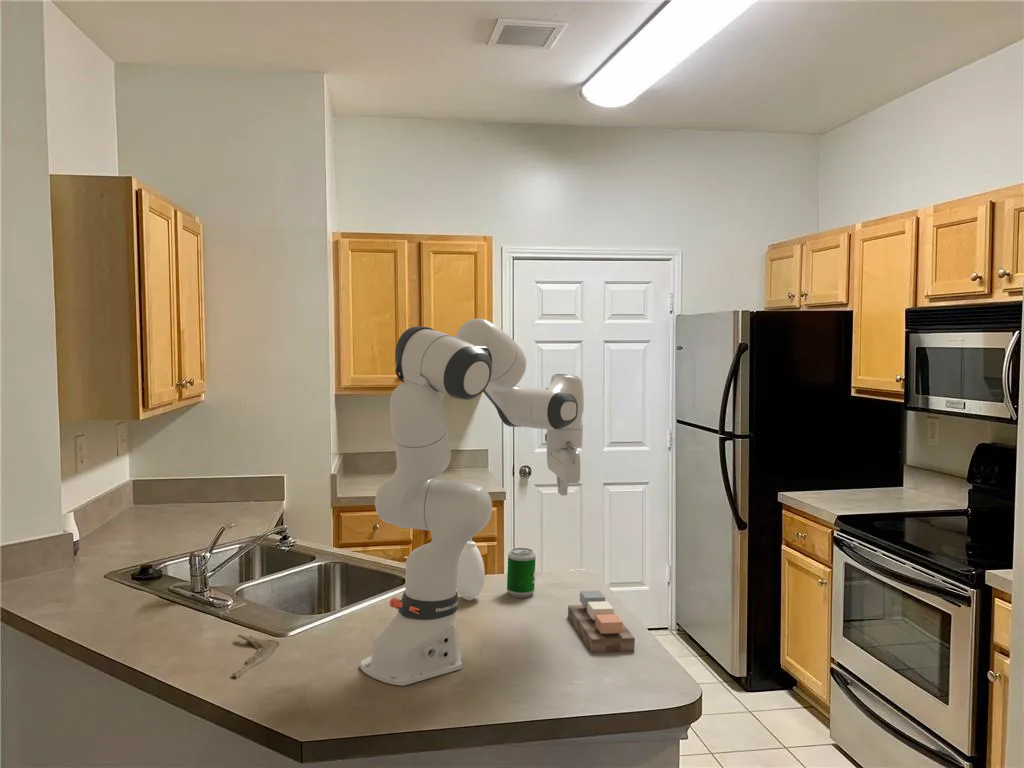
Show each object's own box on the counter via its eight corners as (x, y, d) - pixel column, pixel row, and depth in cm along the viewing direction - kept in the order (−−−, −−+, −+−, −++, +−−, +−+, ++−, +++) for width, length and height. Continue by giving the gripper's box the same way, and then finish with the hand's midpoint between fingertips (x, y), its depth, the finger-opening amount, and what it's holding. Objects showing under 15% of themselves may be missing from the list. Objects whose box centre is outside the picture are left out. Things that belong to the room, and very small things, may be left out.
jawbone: (278, 641, 180) (279, 632, 179) (278, 682, 160) (279, 672, 160) (237, 641, 177) (237, 632, 177) (231, 682, 157) (232, 672, 157)
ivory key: (612, 632, 186) (613, 608, 186) (592, 632, 186) (593, 609, 185) (606, 624, 191) (607, 601, 191) (586, 624, 190) (587, 601, 190)
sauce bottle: (482, 604, 205) (485, 536, 204) (452, 603, 205) (455, 535, 204) (484, 594, 213) (486, 529, 212) (455, 593, 213) (457, 528, 212)
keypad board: (634, 651, 179) (634, 638, 178) (591, 652, 177) (592, 639, 177) (606, 615, 200) (606, 604, 200) (567, 616, 198) (568, 605, 198)
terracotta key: (621, 646, 180) (622, 622, 179) (600, 647, 179) (601, 622, 178) (615, 638, 185) (616, 614, 184) (594, 638, 184) (595, 614, 183)
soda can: (531, 600, 210) (533, 555, 209) (504, 597, 212) (505, 553, 211) (536, 591, 217) (538, 548, 217) (509, 588, 219) (511, 545, 218)
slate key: (604, 620, 193) (605, 597, 193) (584, 620, 192) (585, 597, 192) (598, 612, 198) (599, 590, 198) (579, 613, 197) (580, 591, 197)
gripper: (587, 445, 186) (585, 503, 187) (567, 433, 206) (564, 486, 207) (562, 445, 185) (559, 503, 186) (543, 433, 205) (541, 486, 206)
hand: (562, 494), depth 197 cm, fingers closed
